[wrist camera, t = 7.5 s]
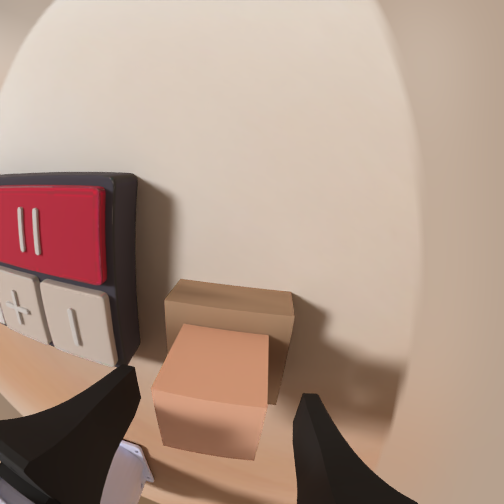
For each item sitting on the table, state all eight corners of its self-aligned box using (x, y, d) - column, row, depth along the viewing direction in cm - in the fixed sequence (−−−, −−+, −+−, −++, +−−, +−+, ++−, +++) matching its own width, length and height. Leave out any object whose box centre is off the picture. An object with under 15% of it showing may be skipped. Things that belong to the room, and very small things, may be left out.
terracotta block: (258, 392, 14) (254, 460, 9) (186, 382, 14) (163, 445, 9) (268, 335, 12) (267, 407, 8) (183, 323, 12) (150, 388, 8)
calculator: (123, 379, 13) (-22, 319, 13) (145, 339, 17) (7, 298, 17) (107, 176, 10) (-43, 182, 10) (145, 172, 14) (-6, 175, 14)
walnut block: (275, 371, 17) (275, 404, 14) (184, 359, 17) (171, 389, 14) (290, 289, 15) (294, 316, 12) (182, 276, 15) (164, 300, 12)
